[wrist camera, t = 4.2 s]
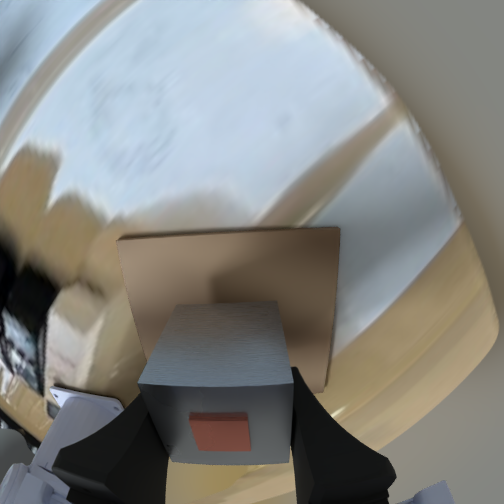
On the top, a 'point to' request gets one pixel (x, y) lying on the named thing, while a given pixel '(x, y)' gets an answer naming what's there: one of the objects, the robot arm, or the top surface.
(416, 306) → the top surface
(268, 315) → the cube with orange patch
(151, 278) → the board
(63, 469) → the robot arm
